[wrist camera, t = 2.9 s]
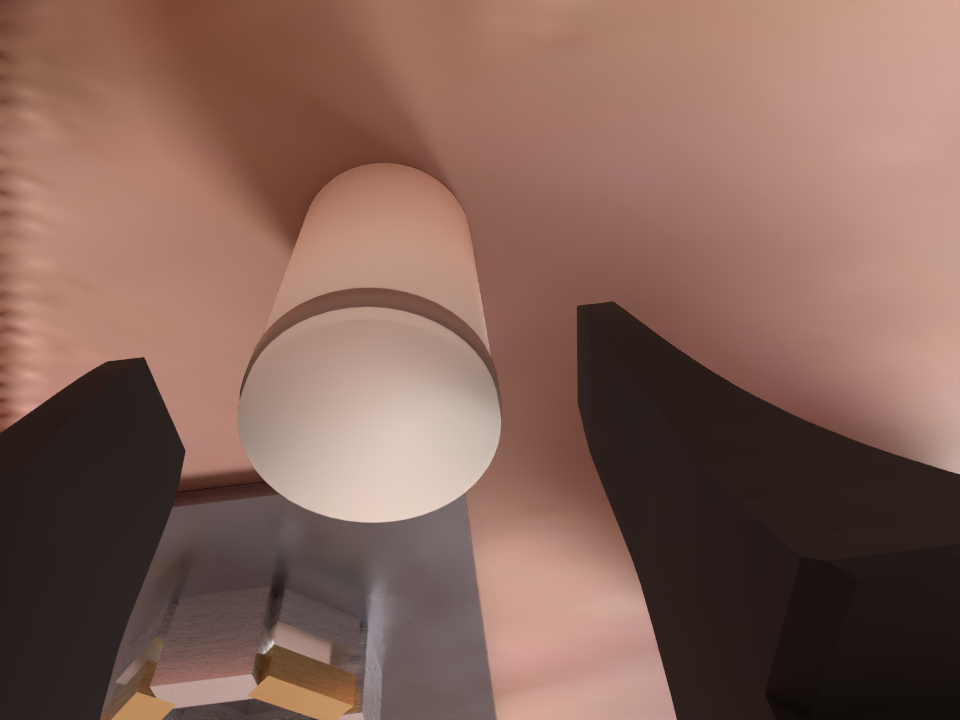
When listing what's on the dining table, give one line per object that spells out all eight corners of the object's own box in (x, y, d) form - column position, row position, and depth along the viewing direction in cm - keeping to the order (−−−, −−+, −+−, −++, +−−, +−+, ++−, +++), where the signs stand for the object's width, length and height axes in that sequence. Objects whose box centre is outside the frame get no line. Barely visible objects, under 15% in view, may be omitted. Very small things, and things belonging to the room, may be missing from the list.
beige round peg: (463, 150, 15) (493, 299, 9) (480, 309, 17) (512, 509, 12) (281, 171, 15) (196, 334, 9) (321, 328, 17) (274, 538, 12)
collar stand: (460, 458, 20) (467, 554, 17) (499, 737, 29) (508, 832, 26) (-82, 523, 20) (-170, 632, 17) (125, 784, 29) (91, 885, 26)
